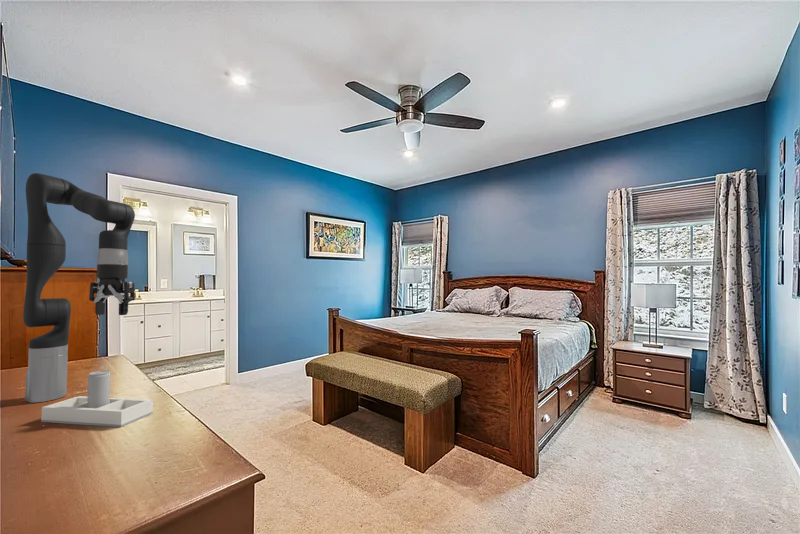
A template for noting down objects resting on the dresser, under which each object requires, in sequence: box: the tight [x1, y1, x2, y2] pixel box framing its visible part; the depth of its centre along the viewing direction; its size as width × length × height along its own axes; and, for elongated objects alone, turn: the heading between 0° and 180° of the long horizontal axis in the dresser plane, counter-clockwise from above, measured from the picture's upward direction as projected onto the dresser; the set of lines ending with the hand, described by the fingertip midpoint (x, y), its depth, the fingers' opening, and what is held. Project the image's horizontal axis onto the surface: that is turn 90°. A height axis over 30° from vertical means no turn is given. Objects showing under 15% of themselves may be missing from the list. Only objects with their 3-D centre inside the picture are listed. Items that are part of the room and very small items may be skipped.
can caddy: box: [40, 395, 154, 428], centre depth 97 cm, size 26×9×4 cm, turn 81°
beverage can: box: [87, 370, 111, 408], centre depth 97 cm, size 5×5×12 cm
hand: (111, 314), depth 108 cm, fingers open, 8 cm apart
